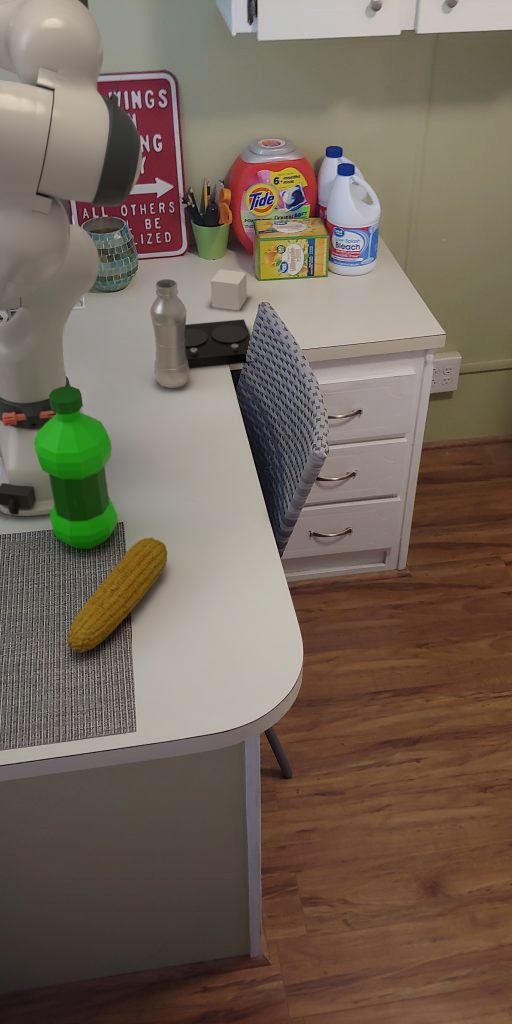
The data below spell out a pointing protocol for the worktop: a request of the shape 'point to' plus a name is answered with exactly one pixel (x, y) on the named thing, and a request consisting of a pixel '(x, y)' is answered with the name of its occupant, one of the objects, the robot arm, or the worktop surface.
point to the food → (118, 594)
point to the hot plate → (216, 343)
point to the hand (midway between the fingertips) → (68, 154)
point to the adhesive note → (229, 289)
